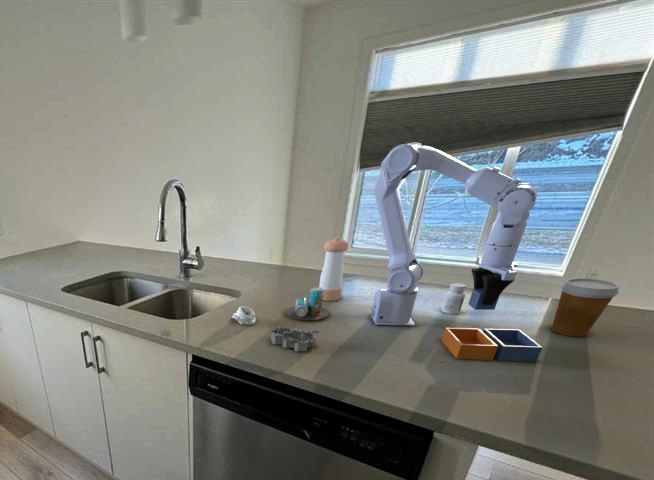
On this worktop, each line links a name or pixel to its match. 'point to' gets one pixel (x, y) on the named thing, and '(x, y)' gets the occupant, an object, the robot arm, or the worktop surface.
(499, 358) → the blue bin
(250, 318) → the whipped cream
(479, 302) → the blue block
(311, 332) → the egg carton
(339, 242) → the pepper shaker
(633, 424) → the worktop surface
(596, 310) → the disposable coffee cup
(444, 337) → the amber bin
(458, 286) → the pill bottle
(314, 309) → the round serving tray
